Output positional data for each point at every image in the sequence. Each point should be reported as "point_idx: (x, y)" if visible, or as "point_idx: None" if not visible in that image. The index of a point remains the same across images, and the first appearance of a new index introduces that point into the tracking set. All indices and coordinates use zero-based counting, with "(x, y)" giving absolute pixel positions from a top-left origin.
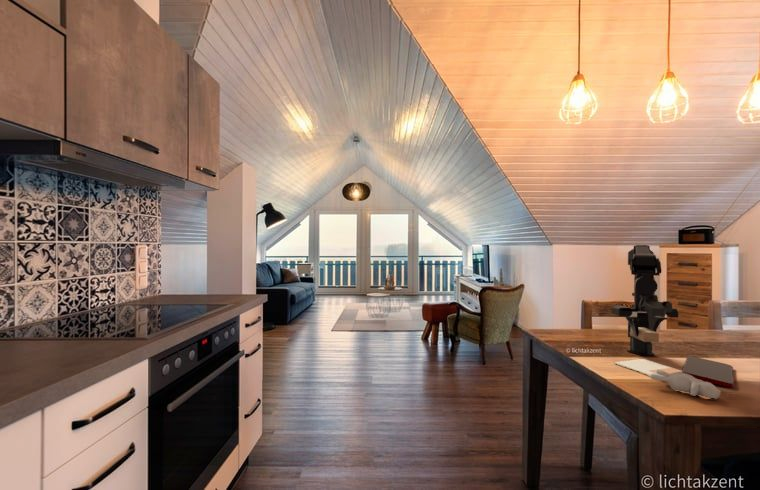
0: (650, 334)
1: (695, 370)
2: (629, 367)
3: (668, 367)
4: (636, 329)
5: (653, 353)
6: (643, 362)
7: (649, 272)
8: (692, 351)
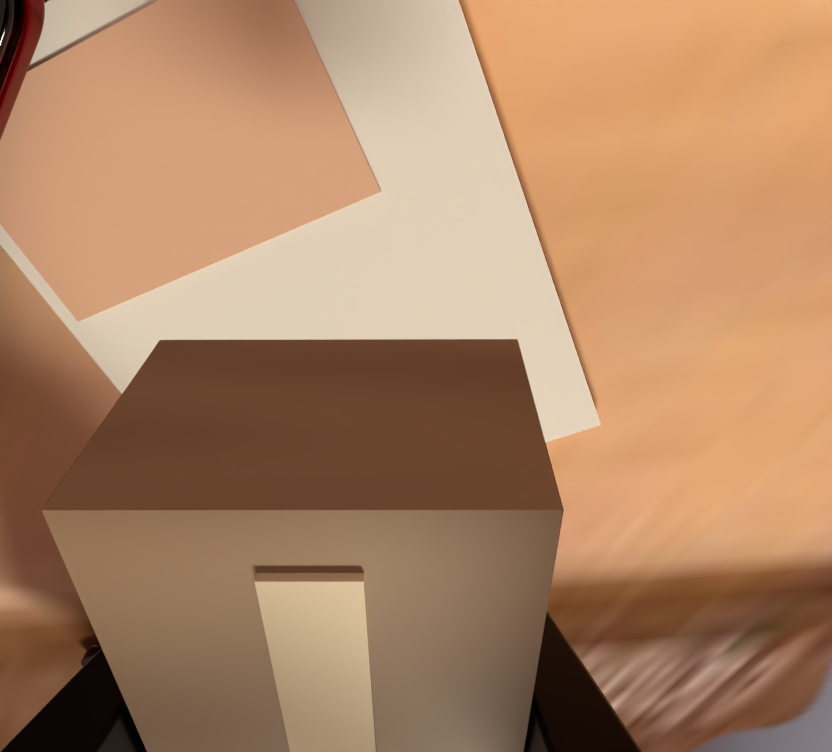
0: (346, 465)
1: None
2: (547, 283)
3: (101, 331)
4: (600, 739)
5: (89, 657)
6: None
7: None
8: None
